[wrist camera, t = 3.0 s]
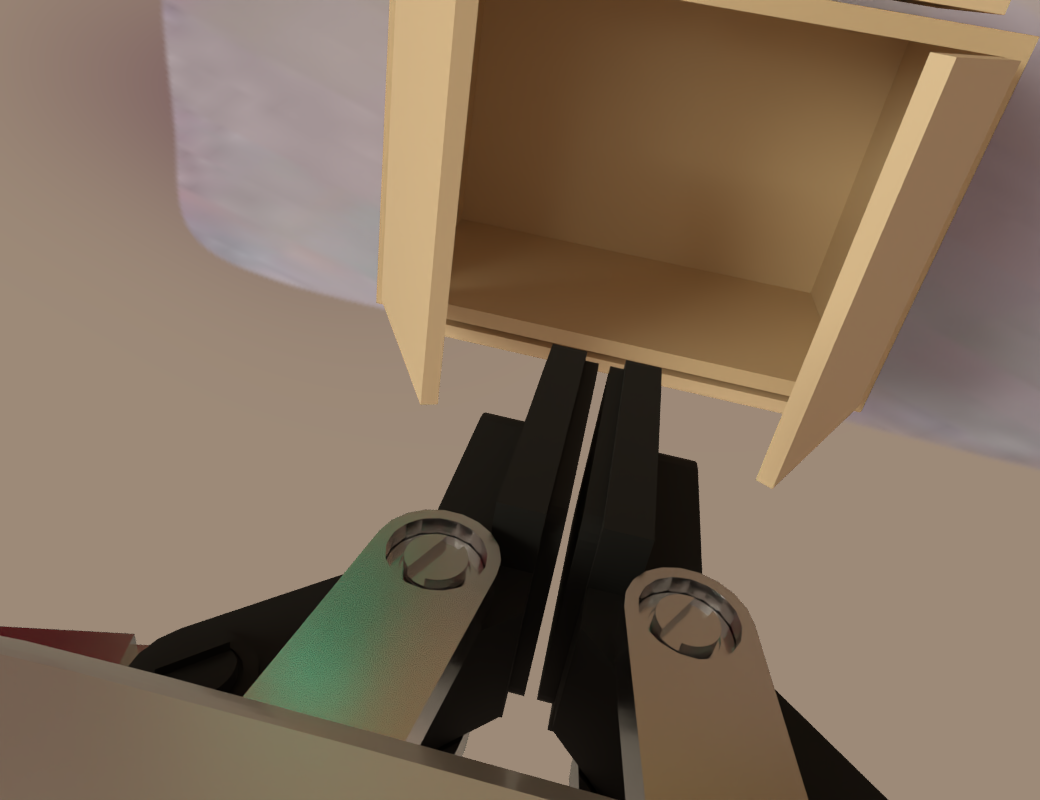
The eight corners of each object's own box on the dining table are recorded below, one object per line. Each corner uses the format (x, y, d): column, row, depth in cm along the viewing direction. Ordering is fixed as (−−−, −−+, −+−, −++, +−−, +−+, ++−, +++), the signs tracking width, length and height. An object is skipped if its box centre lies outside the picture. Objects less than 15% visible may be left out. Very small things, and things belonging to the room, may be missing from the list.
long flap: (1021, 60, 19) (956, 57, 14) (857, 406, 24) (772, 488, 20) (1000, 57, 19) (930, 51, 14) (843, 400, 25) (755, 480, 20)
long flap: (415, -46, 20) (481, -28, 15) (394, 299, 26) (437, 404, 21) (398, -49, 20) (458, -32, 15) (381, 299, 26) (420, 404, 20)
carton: (944, -5, 27) (1060, 0, 19) (813, 321, 34) (854, 432, 26) (481, -84, 29) (394, -111, 20) (449, 242, 36) (375, 323, 27)
